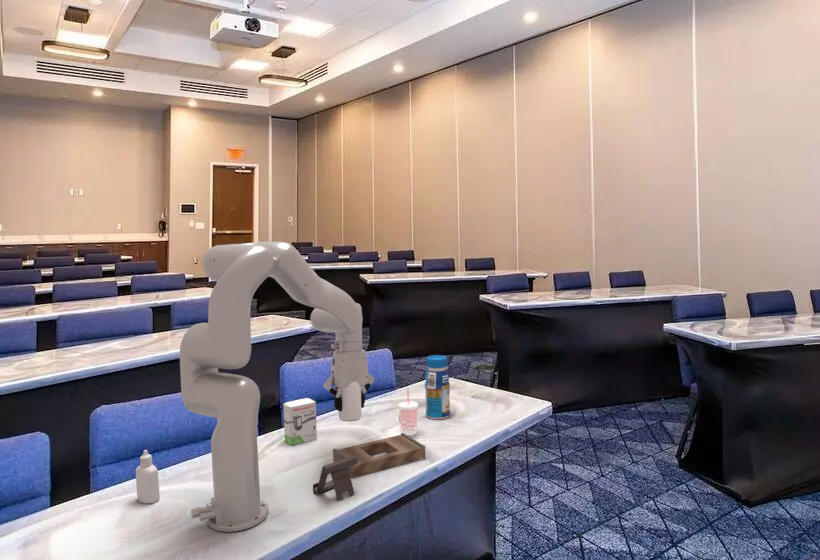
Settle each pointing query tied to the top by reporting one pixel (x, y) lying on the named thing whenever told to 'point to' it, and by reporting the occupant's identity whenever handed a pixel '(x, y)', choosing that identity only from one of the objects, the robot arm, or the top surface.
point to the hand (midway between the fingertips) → (349, 407)
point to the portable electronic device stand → (337, 477)
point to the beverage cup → (408, 416)
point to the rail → (398, 453)
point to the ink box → (300, 421)
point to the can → (351, 403)
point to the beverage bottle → (437, 388)
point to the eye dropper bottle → (147, 480)
